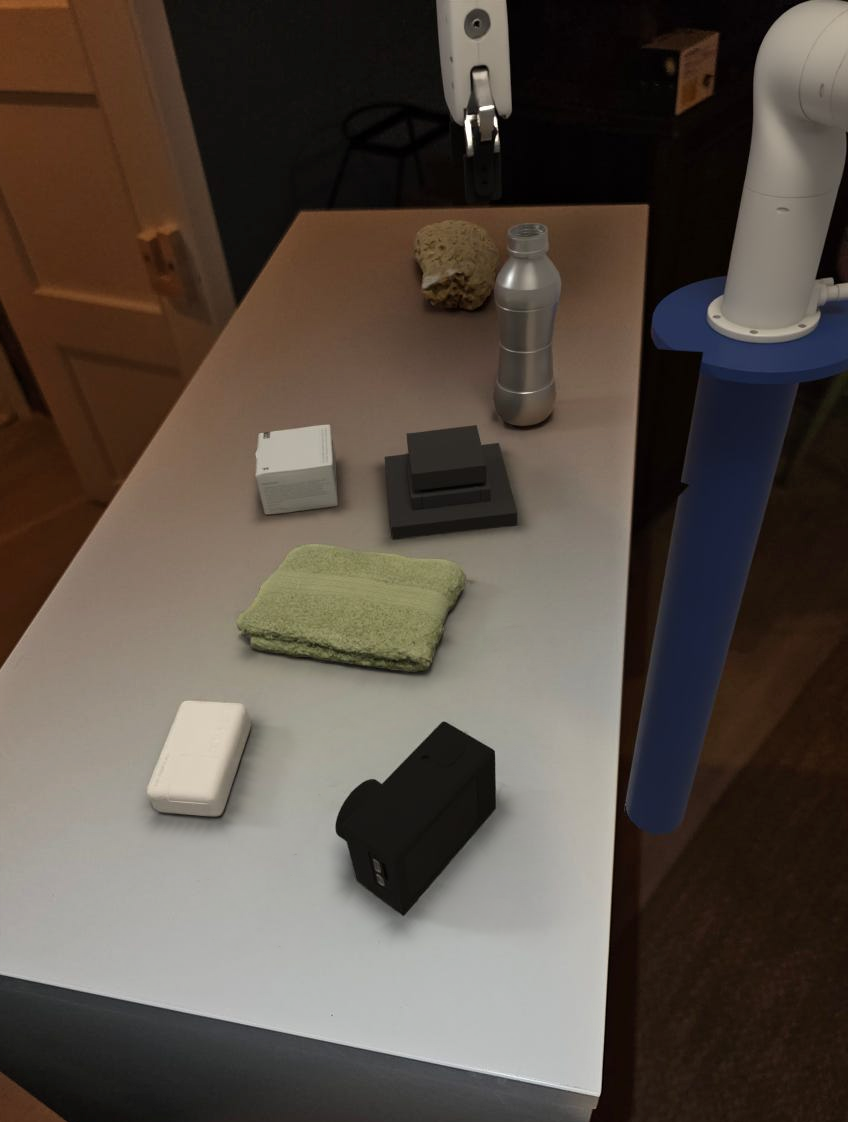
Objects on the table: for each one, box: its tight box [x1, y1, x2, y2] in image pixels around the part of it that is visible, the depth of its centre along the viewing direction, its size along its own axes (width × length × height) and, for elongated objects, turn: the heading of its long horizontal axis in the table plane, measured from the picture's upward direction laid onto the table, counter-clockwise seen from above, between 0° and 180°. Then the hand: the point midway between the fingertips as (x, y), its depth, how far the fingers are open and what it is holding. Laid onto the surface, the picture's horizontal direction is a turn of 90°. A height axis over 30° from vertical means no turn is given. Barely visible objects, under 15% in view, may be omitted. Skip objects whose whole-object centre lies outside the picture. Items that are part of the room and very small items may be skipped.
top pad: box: [406, 424, 487, 491], centre depth 84 cm, size 7×7×4 cm
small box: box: [254, 424, 339, 516], centre depth 89 cm, size 8×8×5 cm
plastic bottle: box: [492, 222, 563, 427], centre depth 88 cm, size 6×7×20 cm
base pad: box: [384, 442, 518, 540], centre depth 86 cm, size 12×12×3 cm
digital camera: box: [335, 721, 497, 917], centre depth 57 cm, size 10×5×7 cm, turn 139°
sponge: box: [412, 218, 501, 311], centre depth 118 cm, size 13×8×20 cm
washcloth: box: [235, 543, 467, 673], centre depth 75 cm, size 13×18×3 cm
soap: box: [146, 700, 252, 818], centre depth 65 cm, size 9×6×3 cm, turn 171°
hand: (475, 182), depth 81 cm, fingers open, 9 cm apart
